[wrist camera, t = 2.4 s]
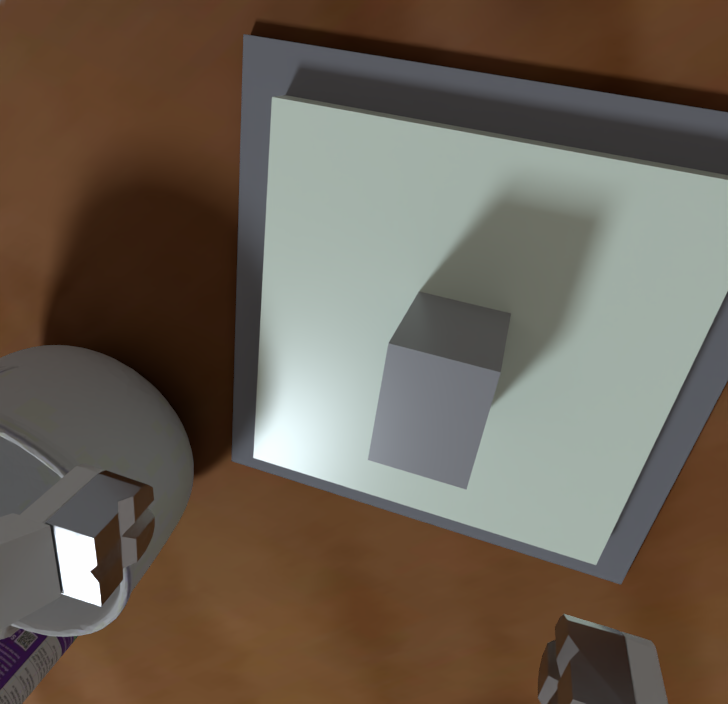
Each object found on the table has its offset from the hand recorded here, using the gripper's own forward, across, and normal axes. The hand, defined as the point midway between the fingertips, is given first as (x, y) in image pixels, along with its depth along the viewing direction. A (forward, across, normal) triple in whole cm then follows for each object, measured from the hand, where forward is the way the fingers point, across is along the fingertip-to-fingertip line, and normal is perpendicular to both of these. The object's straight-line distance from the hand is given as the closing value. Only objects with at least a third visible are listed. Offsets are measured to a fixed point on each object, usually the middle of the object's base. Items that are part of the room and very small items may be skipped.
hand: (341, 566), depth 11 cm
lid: (+11, -1, 0) cm, 11 cm away
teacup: (+12, +14, +10) cm, 21 cm away
